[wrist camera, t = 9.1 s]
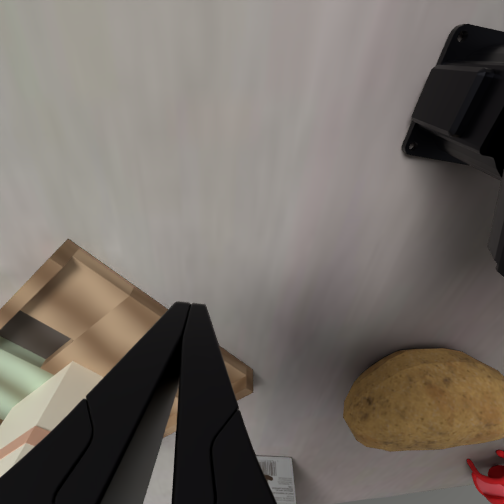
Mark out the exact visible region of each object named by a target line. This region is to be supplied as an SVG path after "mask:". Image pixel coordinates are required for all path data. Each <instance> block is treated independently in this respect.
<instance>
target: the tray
mask: <svg viewBox="0 0 504 504" xmlns="http://www.w3.org/2000/svg"><path fill="white" fill-rule="evenodd" d="M167 310H168V309H166V308H165V307H164V306H162V305H161V304H159V303H158V302H156V301H155V300H154V299H152V298H151V297H149V296H148V295H147V294H145V293H144V292H142V291H141V290H140V289H138V288H137V287H135V286H134V285H133V284H131V283H130V282H128V281H127V280H125V279H124V278H123V277H121V276H120V275H118V274H117V273H116V272H114V271H113V270H111V269H110V268H109V267H107V266H106V265H104V264H103V263H101V262H100V261H99V260H97V259H96V258H94V257H93V256H92V255H90V254H89V253H87V252H86V251H85V250H83V249H82V248H80V247H79V246H77V245H76V244H75V243H73V242H72V241H70V240H69V239H67V240H66V241H65V242H64V244H63V245H62V246H61V247H60V248H59V249H58V250H57V251H56V252H55V253H54V254H53V255H52V256H51V257H50V258H49V259H48V260H47V261H46V262H45V263H44V264H43V265H42V266H41V267H40V268H39V269H38V270H37V271H36V273H35V274H34V275H33V276H32V277H31V278H30V279H29V280H28V281H27V282H26V283H25V284H24V285H23V286H22V287H21V288H20V289H19V290H18V291H17V292H16V293H15V294H14V296H13V297H12V298H11V299H10V300H9V301H8V302H7V303H6V304H5V305H4V306H3V307H2V308H1V309H0V425H1V424H2V422H3V421H4V419H5V418H6V416H7V415H8V413H9V412H10V410H11V409H12V407H14V406H15V405H16V404H17V403H19V402H20V401H21V400H23V399H24V398H25V397H27V396H28V395H29V394H30V393H32V392H33V391H34V390H36V389H37V388H38V387H40V386H41V385H42V384H43V383H45V382H46V381H47V380H49V379H50V378H51V377H53V376H54V375H55V374H57V373H58V372H59V371H60V370H62V369H63V368H64V367H66V366H67V365H68V364H70V363H71V362H72V361H74V362H76V363H78V364H79V365H81V366H83V367H85V368H87V369H89V370H91V371H93V372H95V373H97V374H99V375H100V376H102V377H104V376H105V375H106V374H107V373H108V372H109V371H110V370H111V369H112V368H113V367H114V366H115V365H116V364H117V363H118V362H119V361H120V360H121V359H122V358H123V356H124V355H125V354H126V353H127V352H128V351H129V350H130V349H131V348H132V347H133V346H134V345H135V344H136V343H137V342H138V341H139V340H140V339H141V338H142V337H143V336H144V335H145V333H146V332H147V331H148V330H149V329H150V328H151V327H152V326H153V325H154V324H155V323H156V322H157V321H158V320H159V319H160V318H161V317H162V316H163V315H164V314H165V313H166V311H167ZM219 347H220V346H219ZM220 350H221V353H222V357H223V360H224V363H225V366H226V369H227V372H228V375H229V378H230V382H231V385H232V388H233V391H234V394H235V397H236V400H239V399H241V398H243V397H245V396H247V395H249V394H251V393H253V370H252V369H251V368H250V367H248V366H247V365H245V364H244V363H243V362H241V361H240V360H238V359H237V358H236V357H234V356H233V355H231V354H230V353H228V352H227V351H226V350H224V349H223V348H221V347H220ZM178 393H179V386H178V389H177V393H176V396H175V399H174V403H173V406H172V409H171V412H170V416H169V419H168V422H167V426H166V429H165V432H164V436H163V438H164V437H166V436H168V435H170V434H172V433H174V432H176V425H177V409H178Z"/></svg>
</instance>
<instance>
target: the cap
mask: <svg viewBox="0 0 504 504" xmlns="http://www.w3.org/2000/svg"><path fill="white" fill-rule="evenodd" d="M496 453H497V455H498V456H500V457H502V458H504V451H501V450H497V451H496ZM467 463H468V465H469V466H470V468H471V470H472V471H473V472H472V478H473V481H474V484H475V486H476V488H477V489H478V491H479V492H480V493H481V494H482V495H484V496H485V497H486V498H487V500H488V501H490V502H491V503H492V504H504V466H502V465H497V466H493V467H491V468H490V469H489V472H488V477H487V476H484V475H482V474H480V473H479V472H478V471H477V469H476V468H475V466H474V464H473V463H472V461H471V460H470V459H467Z"/></svg>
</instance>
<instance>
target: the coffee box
mask: <svg viewBox="0 0 504 504" xmlns="http://www.w3.org/2000/svg"><path fill="white" fill-rule="evenodd" d="M256 457H257V459H258V462H259V464H260V466H261V469H262V471H263V473H264V476H265V478H266V480H267V482H268V484H269V486H270V489H271V491H272V493H273V495H274V497H275V500H276V502H277V504H297V502H296V493H295V482H294V474H293V465H292V458H290V457H272V456H256Z"/></svg>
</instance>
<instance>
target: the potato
mask: <svg viewBox="0 0 504 504" xmlns="http://www.w3.org/2000/svg"><path fill="white" fill-rule="evenodd" d="M343 418H344V419H345V421H346V423H347V425H348V426H349V428H350V430H351V431H352V433H353V435H354V437H355V438H356V440H357V441H358V442H360V443H362V444H363V445H365V446H366V447H371V448H377V449H383V450H386V451H390V452H391V451H404V450H435V449H445V448H450V447H455V446H461V445H470V444H479V443H485V442H489V441H494V440H499V439H501V438H504V376H503V375H502V374H501V373H500V372H499V371H498V370H496V369H494V368H492V367H490V366H488V365H486V364H484V363H482V362H480V361H478V360H476V359H474V358H472V357H471V356H469V355H467V354H465V353H463V352H461V351H456V350H450V349H445V348H438V349H409V350H401V351H397V352H395V353H392V354H390V355H388V356H386V357H384V358H383V359H381V360H380V361H378V362H377V363H375V364H374V365H372V366H371V367H370V368H368V369H367V370H366V371H364V372H363V373H362V374H361V375H360V376H359V377H358V378H357V379H356V381H355V382H354V383H353V385H352V387H351V389H350V391H349V393H348V395H347V397H346V399H345V401H344V414H343Z"/></svg>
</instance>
